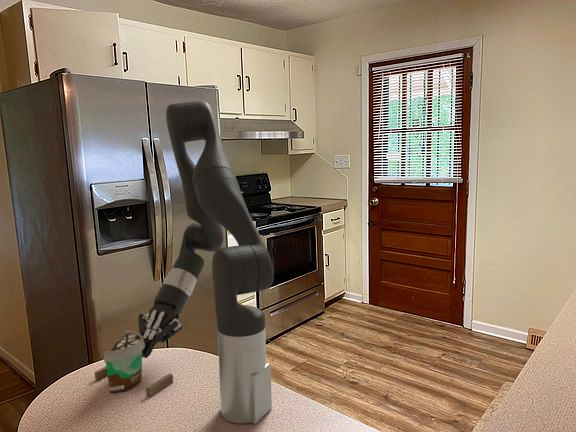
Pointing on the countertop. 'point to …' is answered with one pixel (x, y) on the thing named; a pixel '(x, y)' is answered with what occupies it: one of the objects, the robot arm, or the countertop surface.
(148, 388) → the slot rails
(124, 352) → the food container
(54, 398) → the countertop surface
